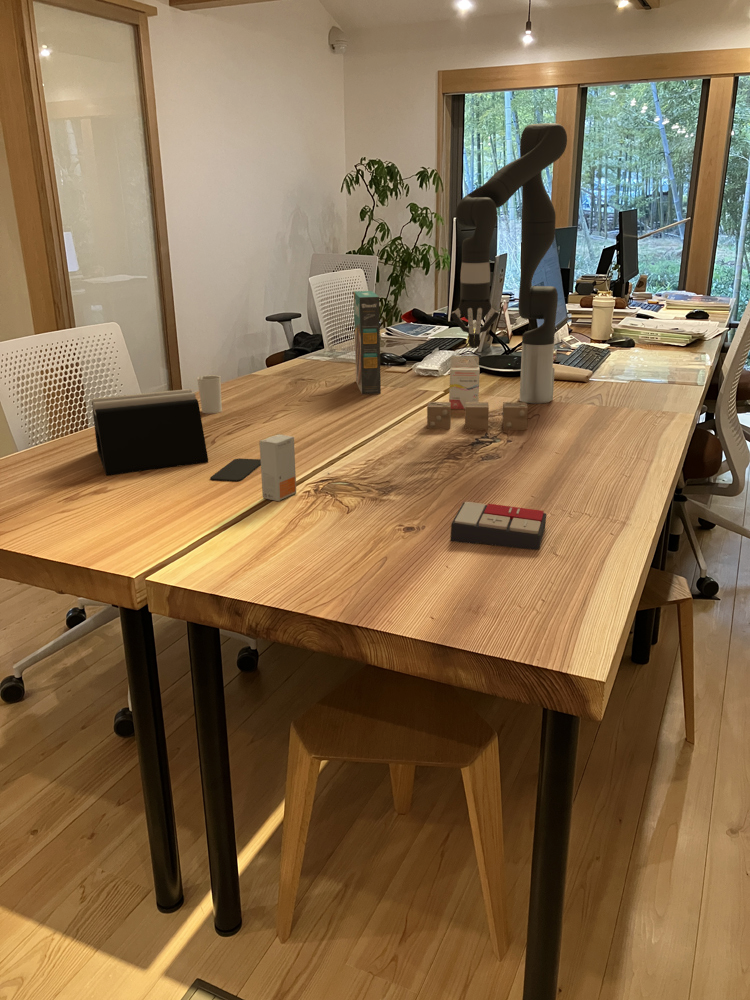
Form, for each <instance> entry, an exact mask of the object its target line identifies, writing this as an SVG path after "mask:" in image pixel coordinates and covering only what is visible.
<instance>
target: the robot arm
mask: <svg viewBox="0 0 750 1000" xmlns="http://www.w3.org/2000/svg"><path fill="white" fill-rule="evenodd" d="M519 143H520V144H519V155H520V156H519V157H518V158H517V159H514V160H513V161H511V162H509V163H508V164H505V165H504V166H503V167H501V168H499V169H498V170H497V171H496V172H495V173H494V174H492V176H491V177H490V178H489V179H488V180H487V181H486V182H485V183H484V184H483V185H481V186H479V187H476V188H475V189H474V190H472V191H471V192H469V193H468V194H466V195H465V196H463V198H462V199H461V200H459V202H458V204H457V206H456V208H455V220H456V221H457V223H458V224H459V225H460V226H462V227H464V228H475V229H474V232H473V234H472V236H470V237H467V238H465V239H463V241H462V244H461V267H460V279H459V280H460V301H459V304H458V307H457V308H456V310H454V311H451V314H450V317H451V318H452V320H453V321H454V322H455V323H456V324H457V325H458V327H459V328H460V330H461V331H462V332H464V333H468V346H470V348H471V349H477V348H478V347H479V346H480V342H481V340H480V339H481V334H482V333H483V332H487V331H488V330H489V328H490V327H491V326H492V325H493V323H494V322H495V320H496V319H497V318H498V317H499V315H500V314H499V311H498V310H495V309H494V308H493V307H492V303H491V301H490V300H491V299H490V296H491V295H490V293H491V265H490V254H491V253H490V246H491V243H492V242H491V241H492V238H493V234H494V232H495V227H496V224H497V220H498V209H499V208H501V207H502V206H504V204H506V203H507V202H508V201H509V200H510V199H511V198H512V197H513V196H514V195H515V194H516V192H517V191H518V190H520V188H521V196H522V197H521V227H520V228H521V229H520V230H521V231H520V237H521V240H520V241H521V242H520V246H521V251H520V253H521V257H520V258H521V259H520V260H521V261H520V262H521V264H520V266H521V267H520V277H519V280H520V281H519V289H518V290H519V291H518V305H517V306H518V313H519V316H520V318H521V319H525V320H543V322H542V324H541V325H540V326H538V327H536V328H534V329H531V330H527V331H525V332H524V333H522V338H521V360H520V362H521V363H520V380H519V381H520V382H519V383H520V384H519V401H520V402H526V404H545V403H546V404H547V403H550V402H551V401H553V399H554V384H555V367H553V366H554V351H555V332H556V319H557V310H558V303H559V300H558V299H559V297H558V296H559V294H558V290H557V288H556V287H555V286H553V285H552V286H550V285H549V286H548V285H547V286H545V285H544V286H543V285H542V286H539V285H538V286H537V285H534V286H533V285H532V281H533V278H534V275H535V272H536V270H537V269H538V267H539V265H540V263H541V262H542V260H543V259H544V257H545V255H546V254H547V252H549V250H550V248H551V246H552V245H553V243H554V240H555V237H556V218H557V217H556V216H557V215H556V210H555V208H554V205H553V202H552V201H551V198H550V196H549V194H548V191H547V190H546V188H545V185H544V182H543V179H542V171H543V170H544V169H546V168H547V167H549V166H550V165H552V164H554V162H556V161H558V159H561V157H562V155H563V154H565V151H566V148H567V145H568V134H567V130H566V129H565V127H564V126H563V125H562V124H561V123H556V122H555V123H554V122H553V123H551V122H549V123H532V124H531V123H530V124H528V125H526V126H525V127H524V128H523V130H522V132H521V135H520V140H519ZM488 313H489V314H488ZM461 315H462V316H463V317H464V319H465V320H467V321H468V322H467V324H468V326H466V324H465V323H464V321H463V320H462V319H461ZM487 315H489V318H488V319H487V320H486V322H485V323H484V324H483V325H482V320H484V319H485V317H486V316H487ZM474 321H475V330H474ZM481 325H482V326H481Z"/></svg>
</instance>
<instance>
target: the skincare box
mask: <svg viewBox="0 0 750 1000" xmlns="http://www.w3.org/2000/svg"><path fill="white" fill-rule="evenodd" d="M295 452H296V451H295V437H294V436H292V435H287V434H286V435H285V434H279V433H278V434H276V435H272V436H269V437H267V438H265V439H261V440H259V454H260V455H259V457H260V459H261V466H260V472H261V473H260V474H261V492H262V494H261V495H262V499H266V500H271V501H276V502H280V501H283V500H284V499H287V498H288V497H290V496H293V495H295V494H297V477H296V475H297V474H296V473H297V472H296V456H295V455H296V453H295Z"/></svg>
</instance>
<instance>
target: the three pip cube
mask: <svg viewBox="0 0 750 1000" xmlns="http://www.w3.org/2000/svg"><path fill="white" fill-rule="evenodd" d="M426 407H427V408H426V411H427V412H426V421H427V422H426V427H427V428H426V429H427V430H450V429H451V423H452V422H451V421H452V420H451V419H452V417H451V416H452V415H451V413H452V412H451V411H452V409H451V402H449V401H427V406H426Z"/></svg>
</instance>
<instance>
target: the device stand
mask: <svg viewBox="0 0 750 1000" xmlns="http://www.w3.org/2000/svg"><path fill="white" fill-rule="evenodd" d="M91 405H92V407H91V408H92V416H93V424H94V425H93V426H94V432H95V433H94V434H95V443H96V449H97V450H96V451H97V454H98V456H99V459H100V463H101V465H102V467H103V470H104V473H105V475H106V476H114V475H124V474H130V473H136V472H145V471H152V470H161V469H167V468H174V467H182V466H190V465H198V464H206V463H209V457H208V456H209V455H208V451H207V450H208V449H207V445H206V439H205V433H204V427H203V426H204V425H203V420H202V417H201V416H202V415H201V410H200V405H199V401H198V399H197V397H196V392H194V391H193V392H192V389H191V388H187V389H176V390H166V391H157V392H154V391H153V392H144V393H138V394H137V393H136V394H135V393H134V394H125V395H114V396H105V397H95V398H91Z"/></svg>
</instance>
